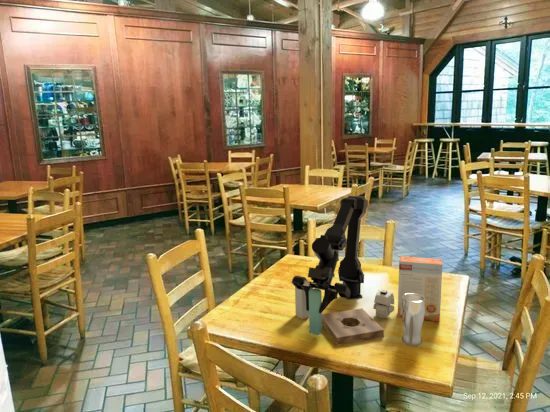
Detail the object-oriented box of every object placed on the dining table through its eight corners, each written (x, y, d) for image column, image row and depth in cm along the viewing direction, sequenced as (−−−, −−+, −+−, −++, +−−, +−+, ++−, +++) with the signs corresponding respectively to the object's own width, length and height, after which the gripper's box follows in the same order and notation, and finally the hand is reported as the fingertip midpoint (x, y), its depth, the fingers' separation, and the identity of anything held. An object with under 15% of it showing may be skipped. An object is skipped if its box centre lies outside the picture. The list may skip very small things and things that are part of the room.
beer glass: (396, 336, 141) (398, 293, 137) (417, 334, 141) (419, 291, 138) (405, 348, 134) (406, 302, 130) (427, 346, 134) (429, 301, 131)
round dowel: (319, 327, 143) (318, 288, 140) (323, 333, 139) (323, 293, 136) (307, 329, 142) (307, 289, 139) (311, 335, 138) (311, 294, 135)
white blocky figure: (394, 315, 155) (395, 288, 152) (388, 323, 149) (389, 295, 147) (378, 311, 158) (378, 285, 156) (371, 319, 152) (372, 292, 150)
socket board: (362, 314, 156) (362, 308, 155) (383, 336, 140) (383, 329, 140) (319, 321, 152) (319, 314, 151) (337, 344, 137) (337, 337, 136)
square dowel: (304, 311, 159) (303, 281, 157) (311, 315, 156) (310, 284, 153) (295, 314, 157) (294, 283, 154) (302, 319, 154) (301, 287, 151)
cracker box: (439, 314, 154) (442, 258, 149) (439, 322, 148) (443, 264, 144) (398, 309, 159) (400, 255, 154) (397, 317, 153) (399, 260, 148)
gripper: (293, 252, 143) (278, 296, 136) (347, 260, 134) (334, 308, 127) (303, 266, 151) (290, 309, 145) (355, 275, 143) (344, 321, 136)
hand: (313, 311), depth 138 cm, fingers closed on round dowel, 4 cm apart
